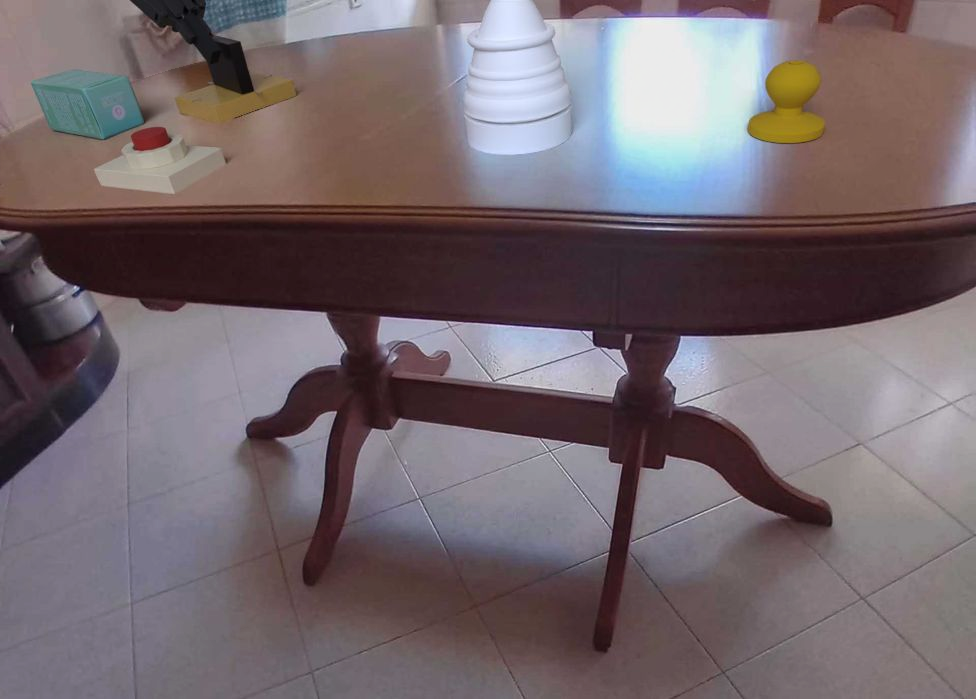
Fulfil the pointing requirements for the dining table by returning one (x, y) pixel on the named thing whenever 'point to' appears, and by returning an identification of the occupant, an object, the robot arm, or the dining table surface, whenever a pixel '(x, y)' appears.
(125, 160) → the bell block
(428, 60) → the dining table surface
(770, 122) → the doorknob
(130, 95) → the box
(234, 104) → the lock plate
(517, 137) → the honey pot
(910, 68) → the dining table surface
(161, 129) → the bell button
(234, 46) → the lock knob
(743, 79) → the dining table surface
